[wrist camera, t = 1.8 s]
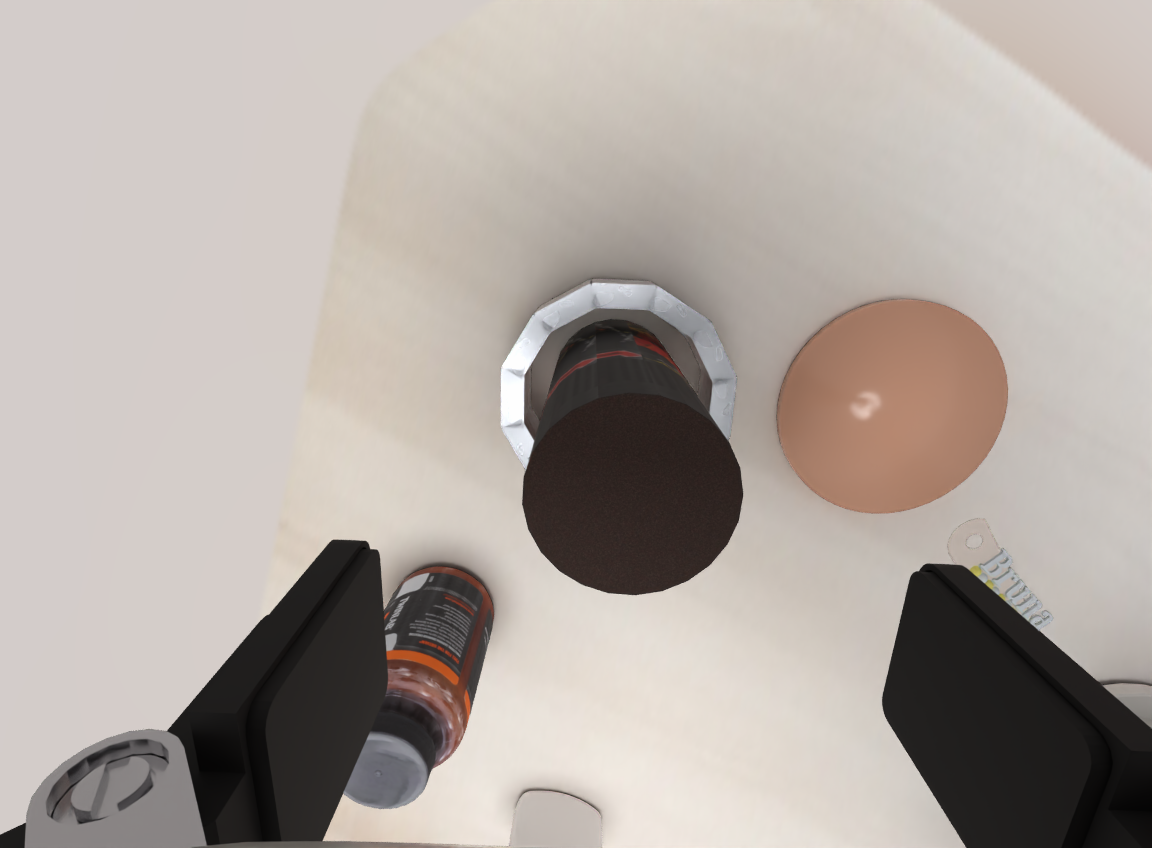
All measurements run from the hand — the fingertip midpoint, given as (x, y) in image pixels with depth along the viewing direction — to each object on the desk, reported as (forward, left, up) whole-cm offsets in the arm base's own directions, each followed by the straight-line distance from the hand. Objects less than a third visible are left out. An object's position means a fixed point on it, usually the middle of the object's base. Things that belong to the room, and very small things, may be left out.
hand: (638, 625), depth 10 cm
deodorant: (0, 0, -21) cm, 21 cm away
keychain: (-23, +11, -21) cm, 33 cm away
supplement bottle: (+9, +14, -21) cm, 27 cm away
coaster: (-14, +1, -21) cm, 25 cm away
